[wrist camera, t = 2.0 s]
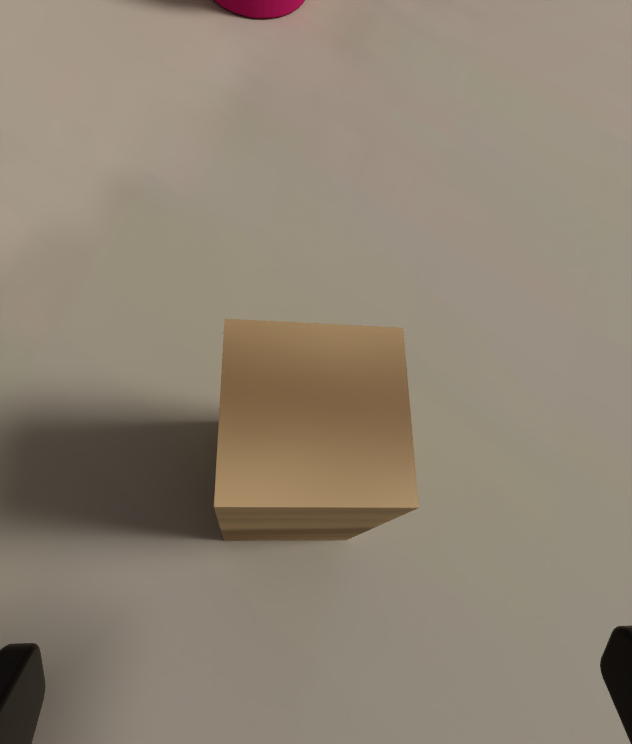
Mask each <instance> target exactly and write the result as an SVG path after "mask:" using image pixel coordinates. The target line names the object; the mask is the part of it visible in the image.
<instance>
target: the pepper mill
mask: <svg viewBox="0 0 632 744" xmlns="http://www.w3.org/2000/svg"><path fill="white" fill-rule="evenodd" d="M214 1H215V2H217V3H218V4H219V5H220V6H222V7H224V8H226V9H228V10H229V11H231V12H233V13H236V14H240V15H243V16H247V17H251V18H264V19H266V18H276V17H281V16H284V15H287V14H289V13H291V12H293V11H295V10H296V9H298V8H299V7H300V6H301V5H302V4H303V2H304V1H305V0H214Z"/></svg>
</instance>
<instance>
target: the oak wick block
mask: <svg viewBox="0 0 632 744" xmlns="http://www.w3.org/2000/svg"><path fill="white" fill-rule="evenodd" d="M417 508H419V504H418V493H417V482H416V470H415V459H414V448H413V437H412V425H411V414H410V403H409V391H408V380H407V369H406V358H405V346H404V335H403V328H395V327H376V326H356V325H336V324H316V323H297V322H277V321H257V320H238V319H225V323H224V340H223V358H222V375H221V393H220V410H219V427H218V445H217V462H216V479H215V497H214V509H215V512H216V516H217V519H218V523H219V526H220V529H221V533H222V536H223V540H224V541H256V540H348V539H350V538H352V537H354V536H357V535H359V534H361V533H363V532H366V531H368V530H370V529H372V528H375V527H377V526H379V525H381V524H383V523H386V522H388V521H390V520H392V519H395V518H397V517H399V516H401V515H404V514H406V513H408V512H410V511H413V510H415V509H417Z"/></svg>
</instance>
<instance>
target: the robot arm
mask: <svg viewBox="0 0 632 744" xmlns="http://www.w3.org/2000/svg"><path fill="white" fill-rule="evenodd" d="M600 667H601V673H602V676H603V679H604V681H605V684H606V686H607V689H608V691H609V693H610V696H611V698H612V700H613V703H614V705H615V707H616V710H617V712H618V714H619V717H620V719H621V721H622V724H623V726H624V728H625V731H626V733H627V736H628V738H629V740H630V743H631V744H632V626H618V627H616V628H615V629H614V630H613V632H612V634H611V636H610V638H609V641H608V643H607V646H606V648H605V650H604V653H603V655H602V657H601V662H600ZM44 694H45V678H44V671H43V665H42V659H41V653H40V649H39V647H38V645H37V644H34V643H24V644H9V645H7V646H5V647H3V648H2V649H1V650H0V744H31V743H32V740H33V736H34V732H35V729H36V725H37V721H38V718H39V714H40V710H41V707H42V703H43V699H44Z"/></svg>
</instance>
